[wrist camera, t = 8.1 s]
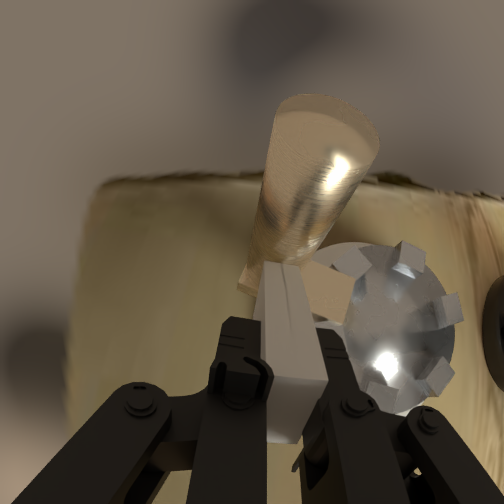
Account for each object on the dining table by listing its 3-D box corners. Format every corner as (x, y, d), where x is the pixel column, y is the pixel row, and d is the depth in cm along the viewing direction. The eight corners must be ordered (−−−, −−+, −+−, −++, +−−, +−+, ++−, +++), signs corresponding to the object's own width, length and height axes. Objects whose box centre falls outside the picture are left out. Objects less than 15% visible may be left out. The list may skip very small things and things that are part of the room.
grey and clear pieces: (438, 292, 23) (574, 202, 9) (407, 424, 18) (583, 427, 4) (271, 220, 25) (322, 38, 10) (209, 360, 20) (166, 309, 5)
